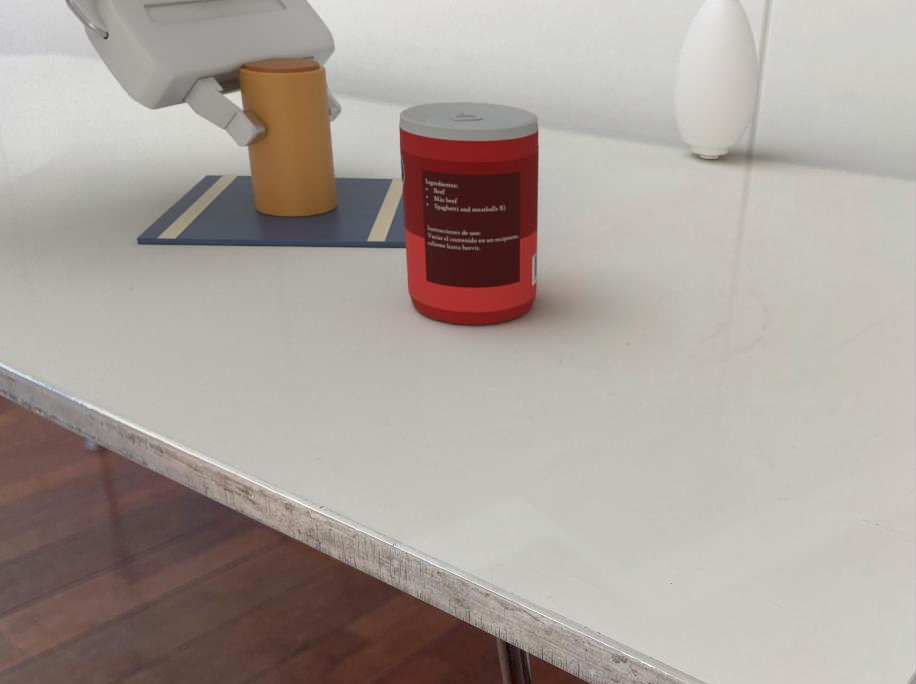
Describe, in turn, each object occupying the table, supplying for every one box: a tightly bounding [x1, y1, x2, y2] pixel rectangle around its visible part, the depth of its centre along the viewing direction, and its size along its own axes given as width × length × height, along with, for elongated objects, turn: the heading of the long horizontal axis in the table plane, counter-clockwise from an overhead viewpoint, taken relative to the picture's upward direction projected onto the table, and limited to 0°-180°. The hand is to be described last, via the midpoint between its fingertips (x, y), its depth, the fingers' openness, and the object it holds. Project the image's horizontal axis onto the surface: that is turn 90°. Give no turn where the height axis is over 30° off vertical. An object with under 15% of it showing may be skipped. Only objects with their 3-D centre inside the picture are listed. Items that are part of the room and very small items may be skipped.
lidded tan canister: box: [238, 58, 337, 217], centre depth 74 cm, size 6×6×10 cm
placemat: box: [136, 174, 406, 248], centre depth 76 cm, size 18×18×1 cm
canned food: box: [398, 101, 540, 326], centre depth 58 cm, size 8×8×11 cm
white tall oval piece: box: [672, 0, 759, 160], centre depth 95 cm, size 8×8×18 cm
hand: (295, 128), depth 73 cm, fingers open, 8 cm apart
